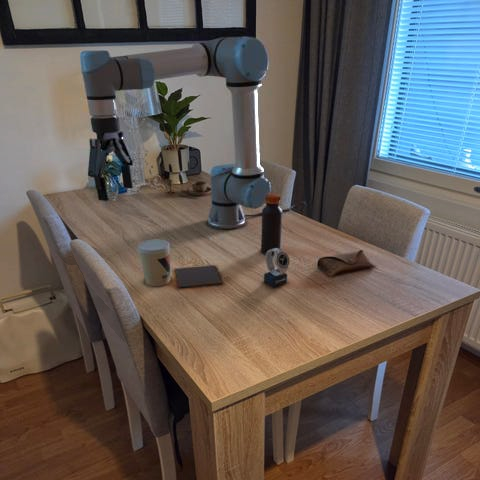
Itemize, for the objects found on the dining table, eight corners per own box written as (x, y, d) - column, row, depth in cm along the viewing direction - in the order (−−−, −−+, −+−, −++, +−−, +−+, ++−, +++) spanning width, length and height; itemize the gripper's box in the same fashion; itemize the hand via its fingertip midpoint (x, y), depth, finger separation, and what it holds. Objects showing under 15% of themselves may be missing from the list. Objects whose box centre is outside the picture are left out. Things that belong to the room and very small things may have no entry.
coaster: (214, 266, 147) (214, 265, 147) (221, 284, 136) (221, 282, 136) (175, 270, 145) (175, 268, 144) (179, 288, 134) (179, 286, 134)
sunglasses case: (331, 276, 140) (327, 255, 139) (319, 278, 146) (315, 258, 146) (376, 266, 146) (372, 246, 146) (363, 269, 153) (359, 250, 152)
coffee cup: (167, 288, 134) (163, 251, 127) (138, 285, 135) (133, 249, 129) (177, 275, 141) (174, 239, 135) (149, 272, 143) (145, 237, 137)
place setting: (198, 199, 210) (197, 187, 207) (166, 192, 219) (165, 180, 216) (219, 190, 223) (219, 178, 220) (188, 184, 232) (187, 173, 229)
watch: (277, 290, 133) (279, 256, 127) (260, 280, 138) (261, 247, 133) (291, 285, 136) (293, 251, 130) (273, 275, 141) (275, 243, 135)
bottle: (271, 256, 154) (274, 199, 143) (257, 251, 158) (258, 195, 147) (283, 251, 158) (287, 195, 147) (269, 246, 162) (271, 191, 151)
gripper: (117, 110, 132) (127, 182, 144) (63, 122, 112) (80, 204, 124) (139, 111, 130) (147, 183, 142) (88, 123, 110) (103, 207, 122)
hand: (116, 193), depth 133 cm, fingers open, 13 cm apart
